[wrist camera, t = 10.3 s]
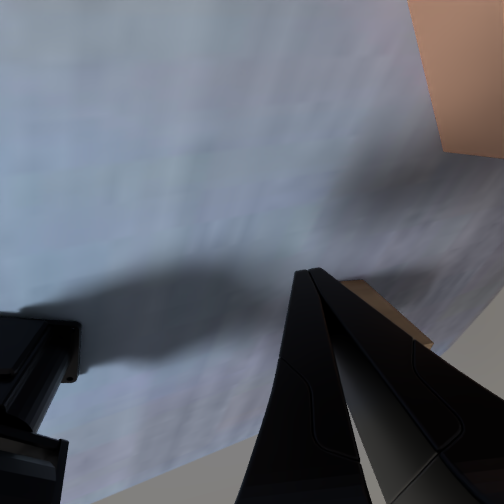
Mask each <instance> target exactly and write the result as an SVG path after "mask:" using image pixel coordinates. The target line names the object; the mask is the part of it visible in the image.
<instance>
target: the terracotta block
mask: <svg viewBox="0 0 504 504" xmlns="http://www.w3.org/2000/svg"><path fill="white" fill-rule="evenodd" d="M407 1H408V6H409V10H410V14H411V18H412V22H413V26H414V30H415V35H416V39H417V43H418V47H419V51H420V55H421V60H422V64H423V68H424V72H425V76H426V80H427V84H428V89H429V93H430V97H431V101H432V105H433V109H434V114H435V118H436V122H437V126H438V130H439V134H440V139H441V143H442V147H443V151H444V152H450V153H458V154H467V155H476V156H484V157H493V158H501V159H504V0H407Z"/></svg>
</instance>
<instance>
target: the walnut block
mask: <svg viewBox="0 0 504 504" xmlns="http://www.w3.org/2000/svg"><path fill="white" fill-rule="evenodd" d="M340 283H342V284H343V285H344V286H346V287H347V288H348V289H350V290H351V291H352V292H354V293H355V294H356V295H358V296H359V297H360V298H362V299H363V300H364V301H366V302H367V303H368V304H370V305H371V306H372V307H374V308H375V309H376V310H378V311H379V312H380V313H382V314H383V315H384V316H386V317H387V318H388V319H389V320H391V321H392V322H393V323H395V324H396V325H397V326H399V327H400V328H401V329H403V330H404V331H405V332H407V333H408V334H409V335H411V336H412V337H413V340H414V339H416V340H418V341H419V342H420V343H422V344H423V345H424V346H426V347H427V348H428V349H431V347H432V345H433V344H434V343H433V342H432V341H431V340H430V339H429V338H428V337H427V336H426V335H424V334H423V333H422V332H421V331H420V330H419V329H418V328H417V327H415V326H414V325H413V324H412V323H411V322H410V321H409V320H408V319H406V318H405V317H404V316H403V315H402V314H401V313H400V312H399V311H398V310H396V309H395V308H394V307H393V306H392V305H391V304H390V303H389V302H387V301H386V300H385V299H384V298H383V297H382V296H381V295H380V294H378V293H377V292H376V291H375V290H374V289H373V288H372V287H371V286H369V285H368V284H367V283H366V282H365V281H364V280H352V281H341V282H340Z"/></svg>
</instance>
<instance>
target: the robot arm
mask: <svg viewBox="0 0 504 504" xmlns="http://www.w3.org/2000/svg"><path fill="white" fill-rule="evenodd" d="M72 328H74V329H72ZM80 344H81V325H80V323H78V322H72V321H57V320H42V319H27V318H12V317H0V504H60V500H61V493H62V486H63V479H64V473H65V466H66V459H67V452H68V445H69V441H67V440H63V439H59V440H57V439H53V438H50V437H47V436H43V435H40V434H36V433H37V431H38V429H39V427H40V425H41V423H42V421H43V418H44V416H45V414H46V412H47V410H48V408H49V406H50V404H51V402H52V400H53V398H54V396H55V394H56V391H57V389H58V387H59V385H60V383H73V382H75V381H76V380H77V378H78V375H79V361H80ZM346 403H347V404H346ZM347 405H348V408H349V410H350V412H351V415H352V418H353V420H354V423H355V425H356V428H357V430H358V433H359V435H360V438H361V440H362V443H363V446H364V448H365V451H366V453H367V456H368V458H369V461H370V463H371V466H372V468H373V471H374V473H375V476H376V479H377V481H378V483H379V486H380V488H381V491H382V494H383V496H384V499H385V501H386V504H504V400H503V399H501V398H500V397H498V396H497V395H495V394H494V393H492V392H491V391H489V390H488V389H486V388H484V387H483V386H481V385H480V384H478V383H477V382H475V381H474V380H472V379H471V378H469V377H468V376H466V375H465V374H463V373H462V372H460V371H459V370H457V369H456V368H455V367H453V366H452V365H450V364H449V363H447V362H446V361H445V360H443V359H442V358H441V357H439V356H438V355H436V354H435V353H434V352H432V351H431V350H430V349H428V348H427V347H426V346H424V345H423V344H422V343H420V342H419V341H418V340H416V339H414V340H413V337H412V336H411V335H409V334H408V333H407V332H405V331H404V330H403V329H401V328H400V327H399V326H397V325H396V324H395V323H393V322H392V321H391V320H389V319H388V318H387V317H386V316H384V315H383V314H382V313H380V312H379V311H378V310H376V309H375V308H374V307H372V306H371V305H370V304H368V303H367V302H366V301H364V300H363V299H362V298H360V297H359V296H358V295H356V294H355V293H354V292H352V291H351V290H350V289H348V288H347V287H346V286H344V285H343V284H342V283H340V282H339V281H338V280H336V279H335V278H334V277H332V276H331V275H330V274H328V273H327V272H326V271H324V270H323V269H322V268H312V269H309V270H308V271H307V270H299V271H295V273H294V279H293V284H292V290H291V295H290V300H289V306H288V311H287V316H286V322H285V327H284V332H283V338H282V343H281V348H280V354H279V359H278V363H277V369H276V374H275V378H274V382H273V387H272V391H271V395H270V398H269V402H268V405H267V409H266V412H265V415H264V418H263V421H262V425H261V428H260V431H259V434H258V437H257V440H256V443H255V446H254V449H253V452H252V455H251V458H250V461H249V464H248V467H247V470H246V473H245V476H244V479H243V482H242V485H241V488H240V490H239V493H238V496H237V498H236V501H235V503H234V504H372V501H371V498H370V495H369V491H368V488H367V485H366V481H365V477H364V473H363V469H362V466H361V464H360V457H359V453H358V449H357V445H356V441H355V437H354V433H353V428H352V425H351V420H350V416H349V412H348V409H347Z"/></svg>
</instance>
